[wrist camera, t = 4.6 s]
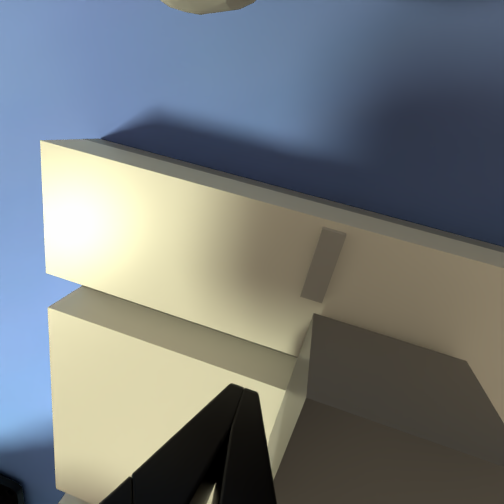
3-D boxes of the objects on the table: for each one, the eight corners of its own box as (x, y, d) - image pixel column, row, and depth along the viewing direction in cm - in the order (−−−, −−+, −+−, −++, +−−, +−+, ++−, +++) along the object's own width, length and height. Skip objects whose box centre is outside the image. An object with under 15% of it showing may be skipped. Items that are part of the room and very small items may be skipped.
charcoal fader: (277, 397, 12) (249, 542, 8) (315, 285, 10) (306, 397, 6) (382, 434, 12) (413, 611, 7) (444, 324, 10) (536, 478, 5)
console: (89, 502, 20) (55, 554, 17) (98, 138, 11) (34, 140, 9) (451, 657, 17) (472, 746, 15) (830, 334, 9) (1036, 417, 6)
